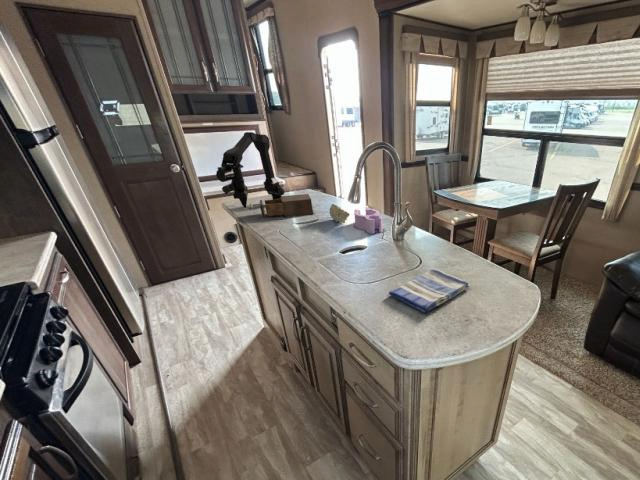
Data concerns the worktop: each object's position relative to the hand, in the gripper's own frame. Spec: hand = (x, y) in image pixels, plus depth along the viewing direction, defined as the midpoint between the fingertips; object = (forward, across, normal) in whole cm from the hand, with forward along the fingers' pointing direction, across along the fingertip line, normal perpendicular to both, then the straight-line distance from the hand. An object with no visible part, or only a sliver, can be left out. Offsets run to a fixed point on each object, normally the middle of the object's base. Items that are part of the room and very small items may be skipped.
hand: (244, 207), depth 177 cm
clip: (+6, +39, +60) cm, 72 cm away
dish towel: (+6, +110, +61) cm, 126 cm away
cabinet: (+6, 0, +28) cm, 28 cm away
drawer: (+5, 0, +12) cm, 13 cm away
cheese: (+6, +26, +49) cm, 56 cm away
